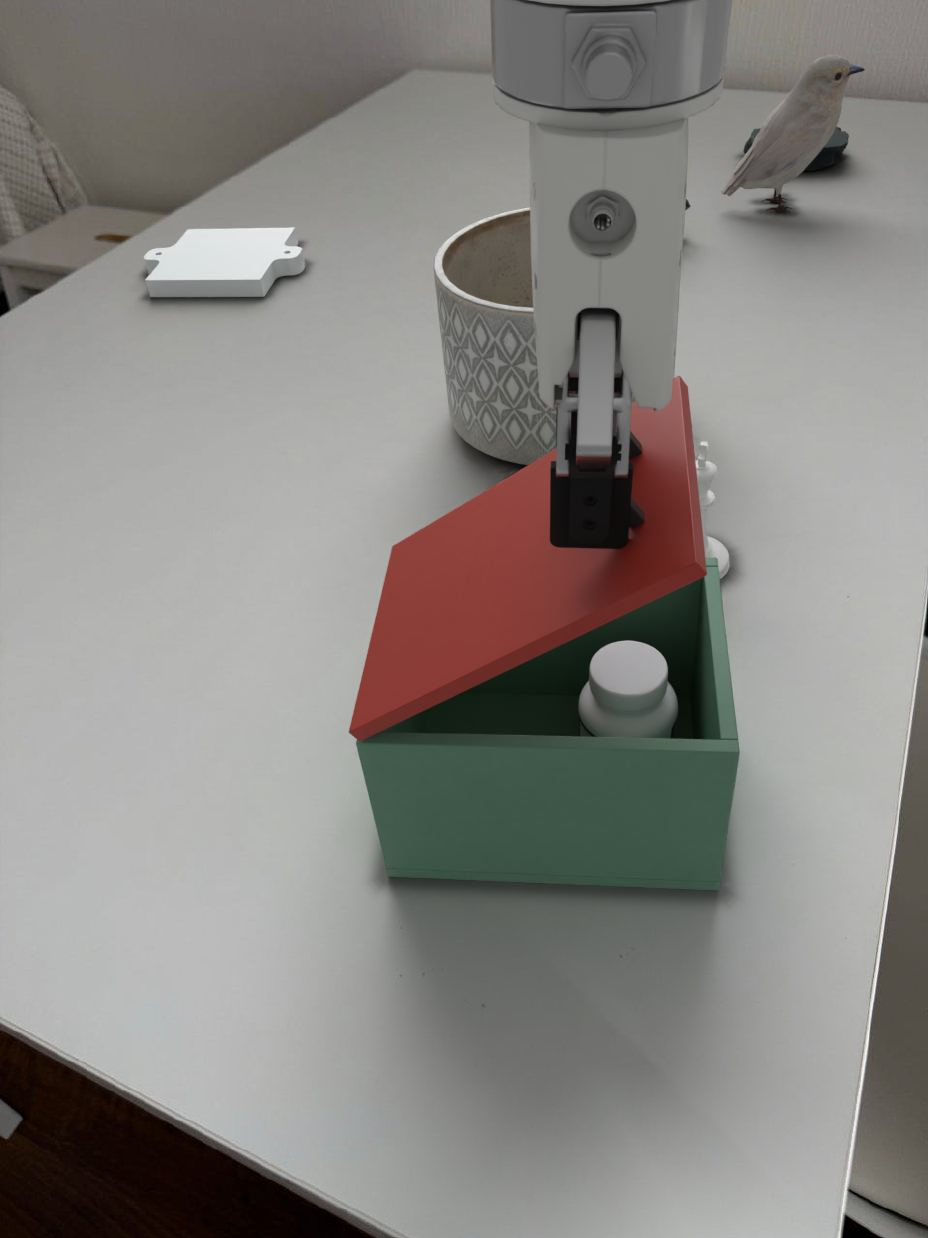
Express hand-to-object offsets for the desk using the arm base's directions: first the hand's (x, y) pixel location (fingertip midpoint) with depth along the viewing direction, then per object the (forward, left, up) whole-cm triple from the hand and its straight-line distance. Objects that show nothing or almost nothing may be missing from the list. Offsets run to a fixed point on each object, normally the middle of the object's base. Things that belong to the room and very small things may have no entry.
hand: (589, 491), depth 46 cm
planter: (+3, -38, -21) cm, 44 cm away
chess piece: (-7, -19, -21) cm, 30 cm away
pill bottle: (-2, 0, -20) cm, 20 cm away
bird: (-20, -80, -21) cm, 86 cm away
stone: (-23, -93, -21) cm, 99 cm away
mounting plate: (+41, -69, -21) cm, 83 cm away
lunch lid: (+3, 0, -4) cm, 5 cm away
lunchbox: (+2, 0, -21) cm, 21 cm away
